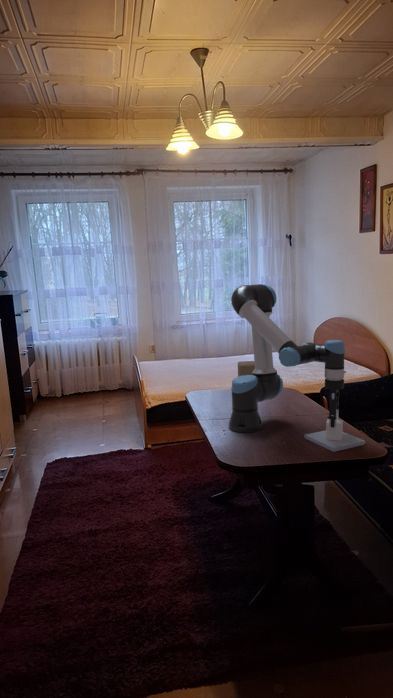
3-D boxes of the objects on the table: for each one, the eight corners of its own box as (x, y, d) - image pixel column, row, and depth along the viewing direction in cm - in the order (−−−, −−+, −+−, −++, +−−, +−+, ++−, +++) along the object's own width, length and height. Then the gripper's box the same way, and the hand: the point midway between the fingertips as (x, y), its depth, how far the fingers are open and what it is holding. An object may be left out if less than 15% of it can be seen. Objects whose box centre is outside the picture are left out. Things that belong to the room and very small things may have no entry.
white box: (341, 440, 185) (341, 422, 183) (326, 439, 187) (326, 421, 186) (342, 435, 190) (342, 418, 189) (327, 434, 192) (327, 417, 191)
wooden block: (255, 393, 271) (254, 360, 268) (257, 398, 261) (257, 363, 258) (238, 394, 271) (237, 361, 268) (240, 399, 261) (239, 364, 258)
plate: (333, 451, 177) (333, 434, 176) (304, 438, 193) (304, 422, 192) (365, 444, 184) (365, 427, 183) (334, 431, 200) (334, 416, 199)
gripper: (342, 386, 172) (341, 440, 175) (345, 372, 195) (344, 420, 198) (321, 385, 175) (321, 438, 178) (327, 371, 198) (327, 419, 201)
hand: (333, 429), depth 188 cm, fingers open, 13 cm apart
